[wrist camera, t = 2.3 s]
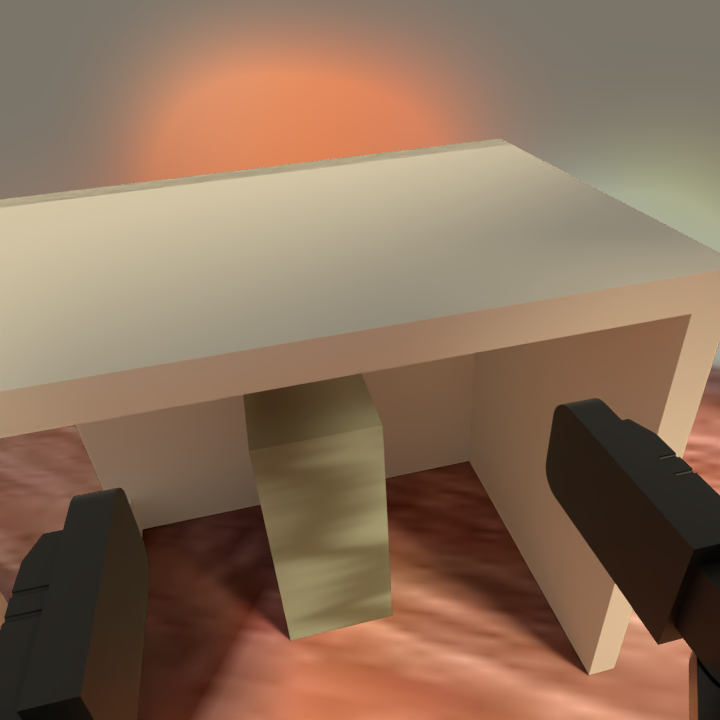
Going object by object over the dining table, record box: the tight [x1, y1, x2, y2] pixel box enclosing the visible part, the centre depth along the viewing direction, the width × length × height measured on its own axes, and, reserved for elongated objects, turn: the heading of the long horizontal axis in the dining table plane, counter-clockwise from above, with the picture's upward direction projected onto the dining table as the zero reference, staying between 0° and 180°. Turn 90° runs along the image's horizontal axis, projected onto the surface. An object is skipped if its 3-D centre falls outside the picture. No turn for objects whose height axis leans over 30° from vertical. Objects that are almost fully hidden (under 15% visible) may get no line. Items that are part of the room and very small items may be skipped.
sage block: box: [243, 373, 392, 640], centre depth 27 cm, size 5×5×12 cm
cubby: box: [0, 139, 720, 675], centre depth 25 cm, size 22×15×19 cm
